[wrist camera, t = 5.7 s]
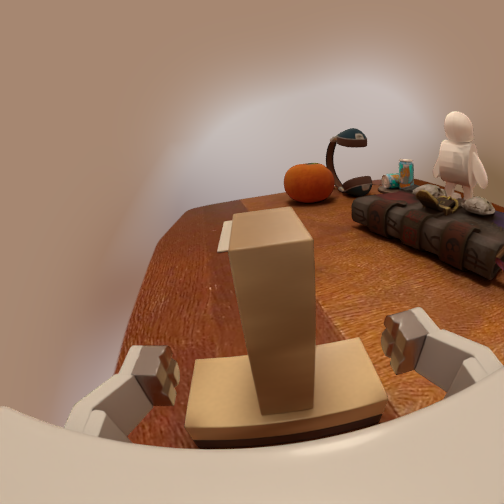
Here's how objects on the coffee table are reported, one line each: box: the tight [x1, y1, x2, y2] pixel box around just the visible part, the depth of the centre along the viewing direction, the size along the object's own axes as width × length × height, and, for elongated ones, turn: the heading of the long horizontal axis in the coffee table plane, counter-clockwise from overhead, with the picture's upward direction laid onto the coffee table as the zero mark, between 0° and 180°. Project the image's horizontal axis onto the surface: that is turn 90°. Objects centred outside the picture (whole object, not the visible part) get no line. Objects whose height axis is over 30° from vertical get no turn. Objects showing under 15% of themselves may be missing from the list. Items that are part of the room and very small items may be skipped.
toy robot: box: [433, 111, 488, 200], centre depth 41 cm, size 14×9×20 cm, turn 24°
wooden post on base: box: [184, 207, 388, 448], centre depth 12 cm, size 10×5×11 cm, turn 92°
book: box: [352, 184, 504, 280], centre depth 29 cm, size 26×18×7 cm
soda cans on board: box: [378, 159, 414, 194], centre depth 56 cm, size 12×12×8 cm
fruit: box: [284, 163, 335, 203], centre depth 55 cm, size 11×10×8 cm
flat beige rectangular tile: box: [217, 221, 232, 252], centre depth 43 cm, size 12×14×1 cm
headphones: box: [326, 128, 374, 196], centre depth 55 cm, size 6×15×22 cm
